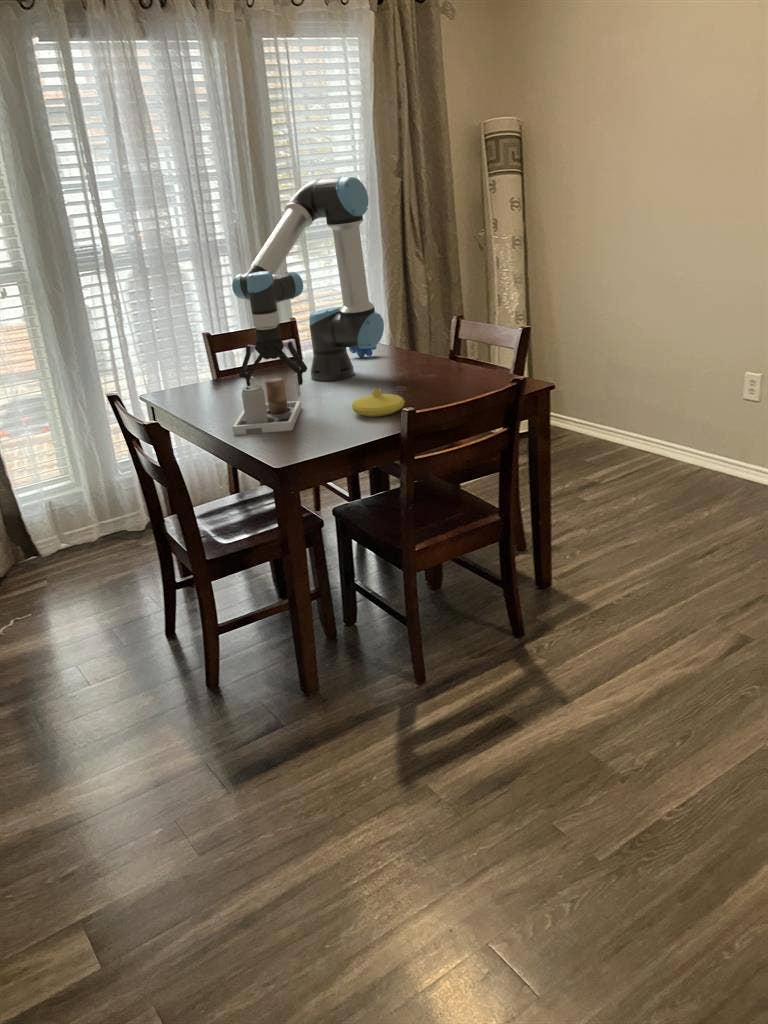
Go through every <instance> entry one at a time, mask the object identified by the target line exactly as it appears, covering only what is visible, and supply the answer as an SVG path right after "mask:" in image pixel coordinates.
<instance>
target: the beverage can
mask: <svg viewBox="0 0 768 1024" xmlns="http://www.w3.org/2000/svg"><path fill="white" fill-rule="evenodd" d="M241 390H242V391H241V399H242V405H243V409H244V413H245V419H246V425H248V424H260V423H269V422H268V418H267V411H266V404H267V403H266V399H265V397H266V396H265V392H264V388H263V386H262V385H259V384H258V385H257V384H255V385H252V386H247V385H246V386H244V387H242V388H241Z"/></svg>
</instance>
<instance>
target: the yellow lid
mask: <svg viewBox="0 0 768 1024" xmlns="http://www.w3.org/2000/svg"><path fill="white" fill-rule="evenodd" d="M404 406H405V400H404V398H403V397H402V396H400V395H397V394H391V393H382V391H381V389H380V388H374V389H373V390H372V394H371V395H365V396H361V397H359V398H357V399H355V400H354V401H353V403H352V404H351V409H352V411H353V412H354V413H355V414H359V415H361V416H363V417H364V416H365V417H383V416H389V415H391V414H394V413H396V412H397V411H399V410H401V409H402V408H403V407H404Z"/></svg>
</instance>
